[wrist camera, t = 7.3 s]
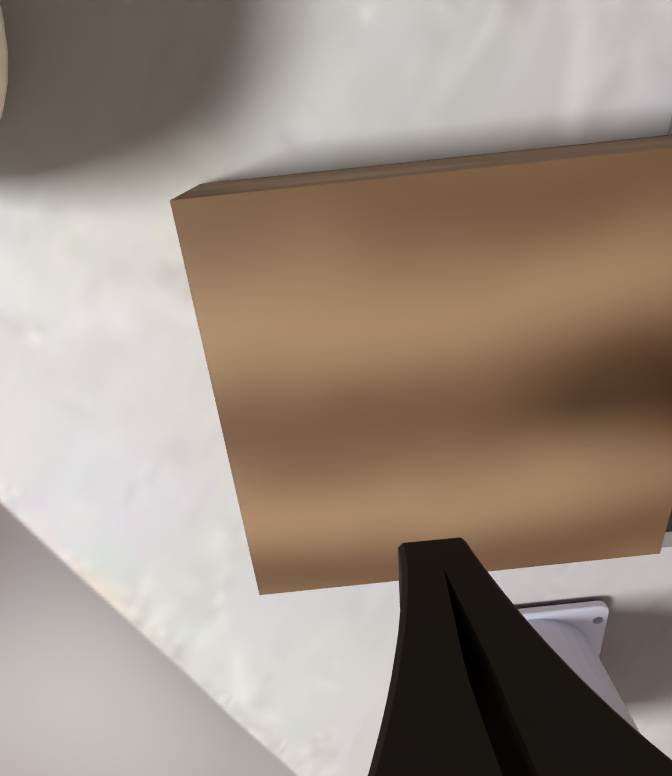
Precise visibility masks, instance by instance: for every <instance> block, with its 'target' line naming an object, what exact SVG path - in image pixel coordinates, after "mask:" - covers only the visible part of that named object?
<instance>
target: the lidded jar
mask: <svg viewBox="0 0 672 776" xmlns="http://www.w3.org/2000/svg"><path fill="white" fill-rule="evenodd" d="M7 85H8V49H7V41H6V33H5V26H4V18H3V14H2V10H1V6H0V119H1V116H2V114H3V108H4V103H5V97H6V91H7Z"/></svg>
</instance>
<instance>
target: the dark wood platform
mask: <svg viewBox="0 0 672 776" xmlns="http://www.w3.org/2000/svg"><path fill="white" fill-rule="evenodd" d="M170 203H171V207H172V212H173V216H174V220H175V225H176V229H177V234H178V238H179V242H180V247H181V251H182V256H183V260H184V264H185V269H186V273H187V278H188V282H189V286H190V291H191V295H192V300H193V304H194V308H195V313H196V317H197V322H198V326H199V330H200V335H201V339H202V344H203V348H204V352H205V357H206V361H207V366H208V370H209V375H210V379H211V383H212V388H213V392H214V397H215V401H216V405H217V410H218V414H219V419H220V423H221V427H222V432H223V436H224V441H225V445H226V449H227V454H228V458H229V463H230V467H231V471H232V476H233V480H234V485H235V489H236V493H237V498H238V502H239V507H240V511H241V515H242V520H243V524H244V529H245V533H246V537H247V542H248V546H249V551H250V555H251V559H252V564H253V568H254V573H255V577H256V581H257V586H258V590H259V595H265V594H274V593H284V592H293V591H303V590H313V589H322V588H332V587H341V586H351V585H361V584H370V583H380V582H390V581H399V566H398V547H399V546H400V545H401V544H402V543H407V542H417V541H427V540H438V539H448V538H459V537H461V538H462V539H464V540H465V541H466V542H467V544H468V545H469V547H470V548H471V550H472V551H473V553H474V554H475V555H476V557H477V558H478V560H479V561H480V562H481V564H482V565H483V566H484V568H485V569H486V570H487V571H495V570H505V569H515V568H524V567H534V566H544V565H553V564H563V563H572V562H582V561H592V560H601V559H611V558H620V557H630V556H640V555H649V554H659V553H660V551H661V547H662V544H663V540H664V536H665V532H666V528H667V524H668V520H669V517H670V513H671V509H672V135H666V136H656V137H647V138H637V139H628V140H618V141H609V142H599V143H590V144H580V145H570V146H561V147H551V148H542V149H532V150H523V151H513V152H503V153H494V154H484V155H475V156H465V157H456V158H446V159H437V160H427V161H417V162H408V163H398V164H389V165H379V166H370V167H360V168H350V169H341V170H331V171H322V172H312V173H303V174H293V175H284V176H274V177H264V178H255V179H245V180H236V181H226V182H217V183H207V184H200V185H198V186H196V187H194V188H192V189H190V190H188V191H187V192H185V193H183V194H181V195H179V196H177V197H175V198H174V199H172V200H170Z"/></svg>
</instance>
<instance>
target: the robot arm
mask: <svg viewBox="0 0 672 776" xmlns="http://www.w3.org/2000/svg"><path fill="white" fill-rule="evenodd" d="M398 566H399V593H400V620H399V631H398V639H397V645H396V652H395V658H394V664H393V670H392V677H391V682H390V687H389V692H388V697H387V702H386V706H385V711H384V715H383V719H382V724H381V728H380V732H379V736H378V740H377V744H376V748H375V751H374V755H373V759H372V763H371V766H370V770H369V774H368V776H672V760H671V759H670V758H669V757H667V756H666V755H665V754H664V753H663V752H661V751H660V750H659V749H658V748H656V747H655V746H654V745H653V744H652V743H650V742H649V741H648V740H647V739H646V738H645V737H643V736H642V735H641V734H640V732H639V730H638V728H637V727H636V725H635V723H634V721H633V719H632V717H631V716H630V714H629V712H628V710H627V708H626V706H625V705H624V703H623V701H622V699H621V697H620V695H619V694H618V692H617V690H616V688H615V686H614V684H613V683H612V681H611V679H610V677H609V675H608V673H607V672H606V670H605V668H604V666H603V664H602V662H601V660H600V659H599V656H600V652H601V647H602V642H603V638H604V633H605V628H606V624H607V619H608V614H609V609H608V607H607V605H606V604H605V603H604V602H603V601H589V602H580V603H570V604H560V605H551V606H541V607H531V608H522V609H517V608H516V607H515V606H514V604H513V603H512V602H511V601H510V600H509V598H508V597H507V596H506V595H505V594H504V592H503V591H502V590H501V589H500V587H499V586H498V585H497V583H496V582H495V581H494V580H493V578H492V577H491V576H490V574H489V573H488V572H487V570H486V569H485V568H484V566H483V565H482V564H481V562H480V561H479V560H478V558H477V557H476V555H475V554H474V553H473V551H472V550H471V548H470V547H469V545H468V544H467V542H466V541H465V540H464V539H462V538H461V537H459V538H448V539H438V540H427V541H417V542H407V543H402V544H401V545H400V546H399V547H398Z"/></svg>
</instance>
